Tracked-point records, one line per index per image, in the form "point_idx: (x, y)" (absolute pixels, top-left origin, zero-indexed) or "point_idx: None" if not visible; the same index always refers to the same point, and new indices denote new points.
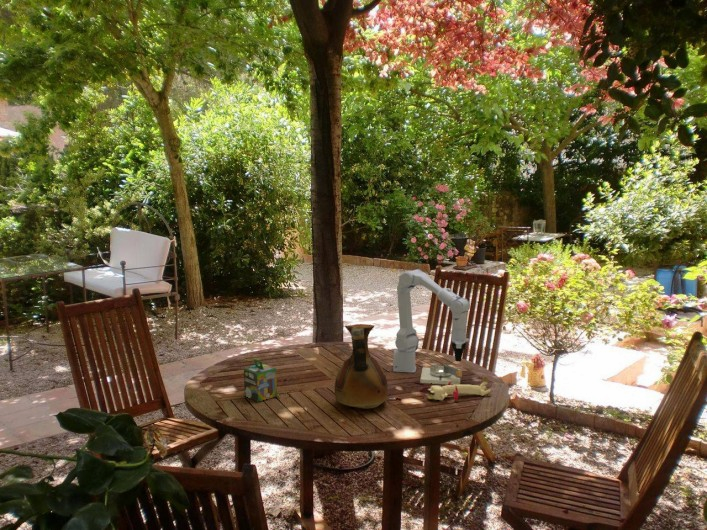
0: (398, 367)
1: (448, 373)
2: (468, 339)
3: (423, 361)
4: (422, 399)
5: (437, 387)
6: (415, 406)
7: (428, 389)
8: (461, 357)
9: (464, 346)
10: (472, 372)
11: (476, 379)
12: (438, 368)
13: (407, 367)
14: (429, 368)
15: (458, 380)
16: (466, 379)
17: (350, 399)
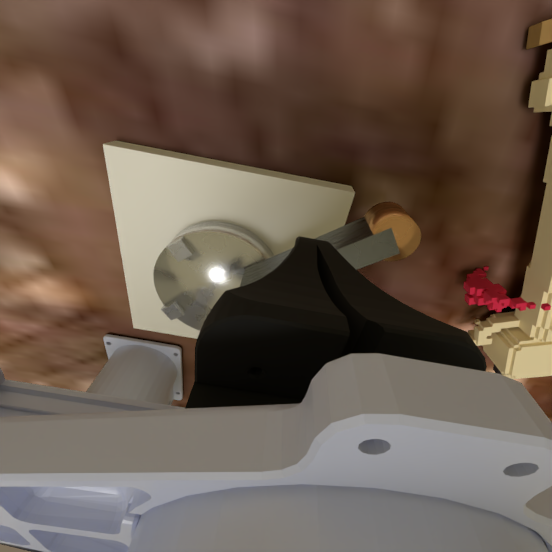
0: (169, 398)
1: (267, 256)
2: (490, 452)
3: (2, 296)
4: (489, 362)
5: (548, 361)
6: (546, 387)
7: (512, 378)
8: (341, 258)
9: (484, 368)
10: (73, 32)
11: (235, 32)
12: (209, 300)
13: (171, 381)
14: (142, 306)
15: (331, 199)
16: (242, 120)
17: None
